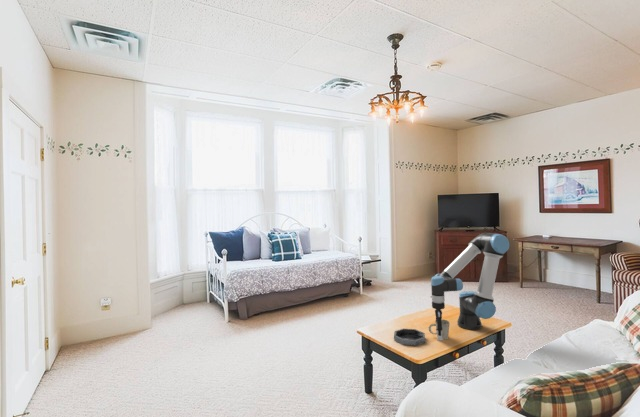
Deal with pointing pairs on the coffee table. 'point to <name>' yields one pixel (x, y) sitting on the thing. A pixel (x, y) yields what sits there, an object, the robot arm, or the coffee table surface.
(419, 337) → the gray octagonal container
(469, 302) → the robot arm
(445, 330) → the mug
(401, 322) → the coffee table surface
